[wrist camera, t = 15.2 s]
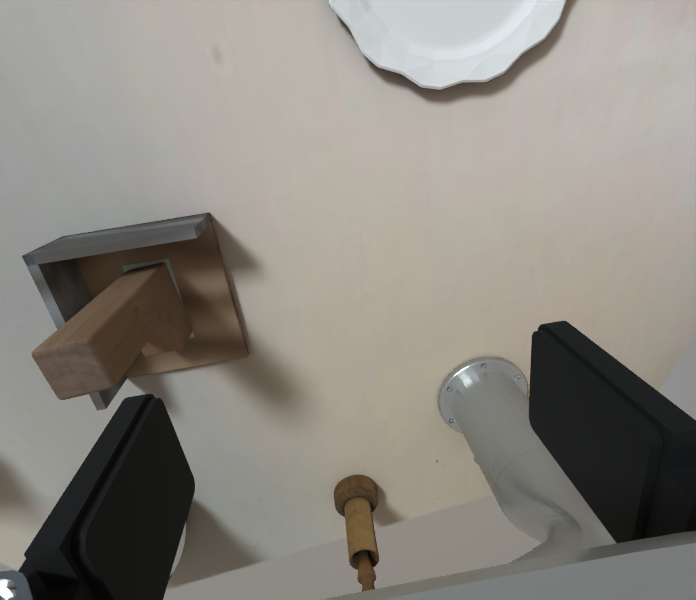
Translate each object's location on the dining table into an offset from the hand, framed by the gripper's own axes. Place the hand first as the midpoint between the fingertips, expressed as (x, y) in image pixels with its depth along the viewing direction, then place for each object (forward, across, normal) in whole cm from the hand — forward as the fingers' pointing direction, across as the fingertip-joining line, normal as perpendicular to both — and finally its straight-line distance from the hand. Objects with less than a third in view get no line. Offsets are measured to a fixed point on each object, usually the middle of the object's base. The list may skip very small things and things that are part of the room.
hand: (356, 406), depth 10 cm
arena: (+38, +20, +10) cm, 44 cm away
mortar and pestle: (+38, +2, +46) cm, 60 cm away
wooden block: (+37, +20, +10) cm, 43 cm away
